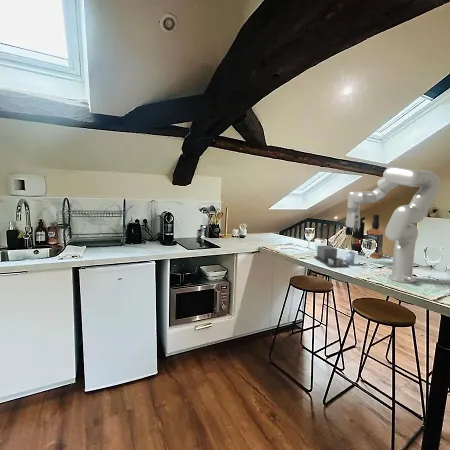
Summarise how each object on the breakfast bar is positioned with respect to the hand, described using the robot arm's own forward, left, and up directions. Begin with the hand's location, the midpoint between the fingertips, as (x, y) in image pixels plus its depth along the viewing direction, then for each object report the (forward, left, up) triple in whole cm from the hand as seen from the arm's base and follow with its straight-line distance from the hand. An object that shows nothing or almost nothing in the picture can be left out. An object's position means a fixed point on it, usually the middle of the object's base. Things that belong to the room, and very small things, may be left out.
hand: (351, 236), depth 183 cm
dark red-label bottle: (+31, -22, -20) cm, 43 cm away
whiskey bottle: (+21, -30, -20) cm, 42 cm away
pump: (-1, 0, -19) cm, 19 cm away
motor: (+7, +11, -19) cm, 23 cm away
